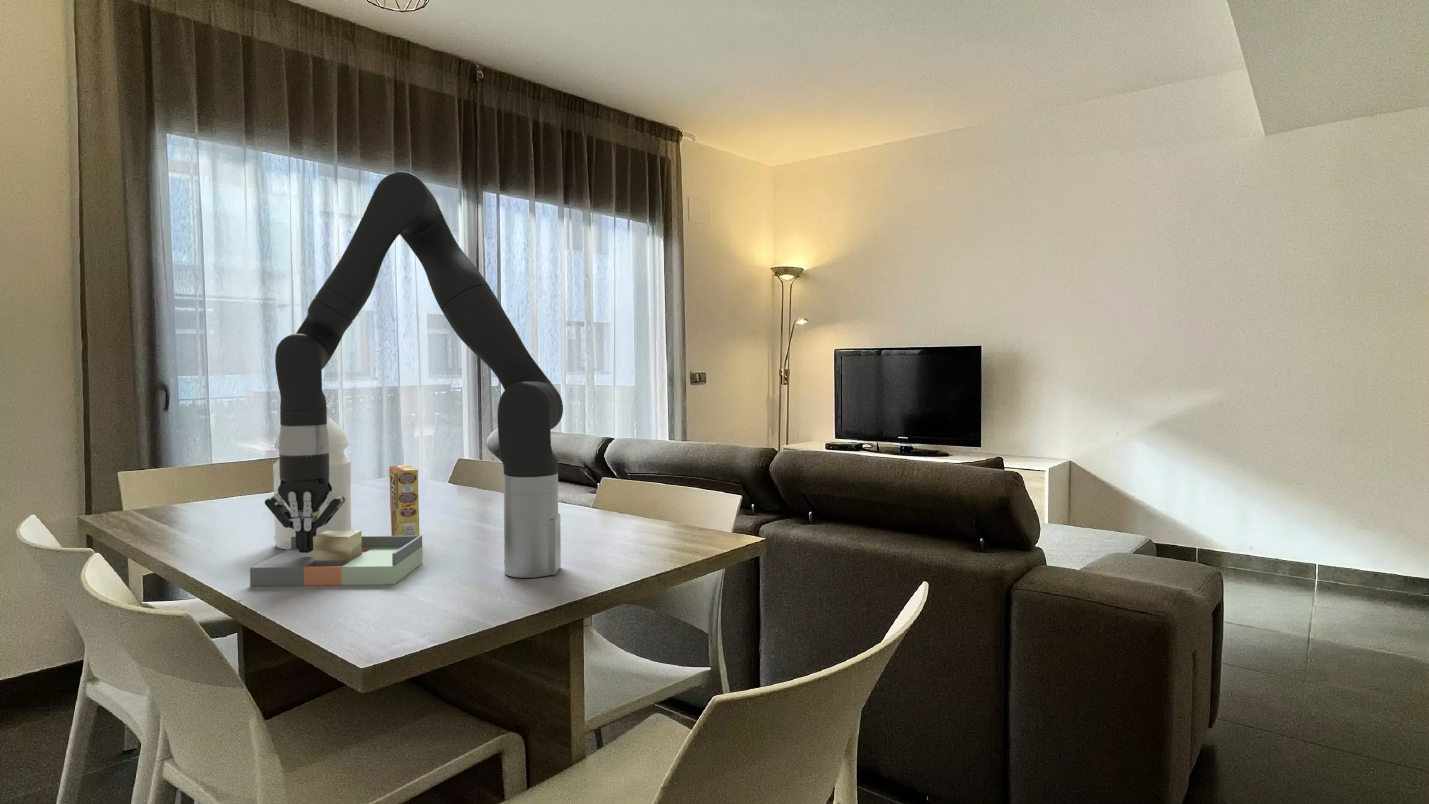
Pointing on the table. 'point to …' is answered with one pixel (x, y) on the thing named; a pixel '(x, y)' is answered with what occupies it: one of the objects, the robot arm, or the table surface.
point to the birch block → (337, 545)
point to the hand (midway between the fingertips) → (306, 551)
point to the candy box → (404, 501)
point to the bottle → (337, 480)
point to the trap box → (343, 564)
